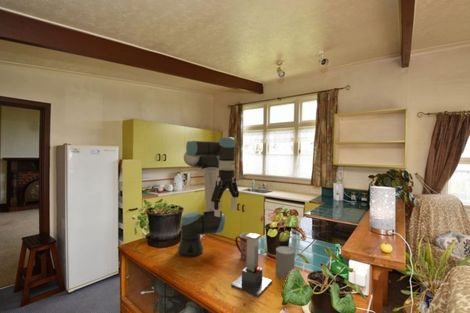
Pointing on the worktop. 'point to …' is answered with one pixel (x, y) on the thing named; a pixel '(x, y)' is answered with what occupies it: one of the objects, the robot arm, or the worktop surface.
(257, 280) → the stand base
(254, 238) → the column
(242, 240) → the mug
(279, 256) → the gray cylinder
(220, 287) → the worktop surface
